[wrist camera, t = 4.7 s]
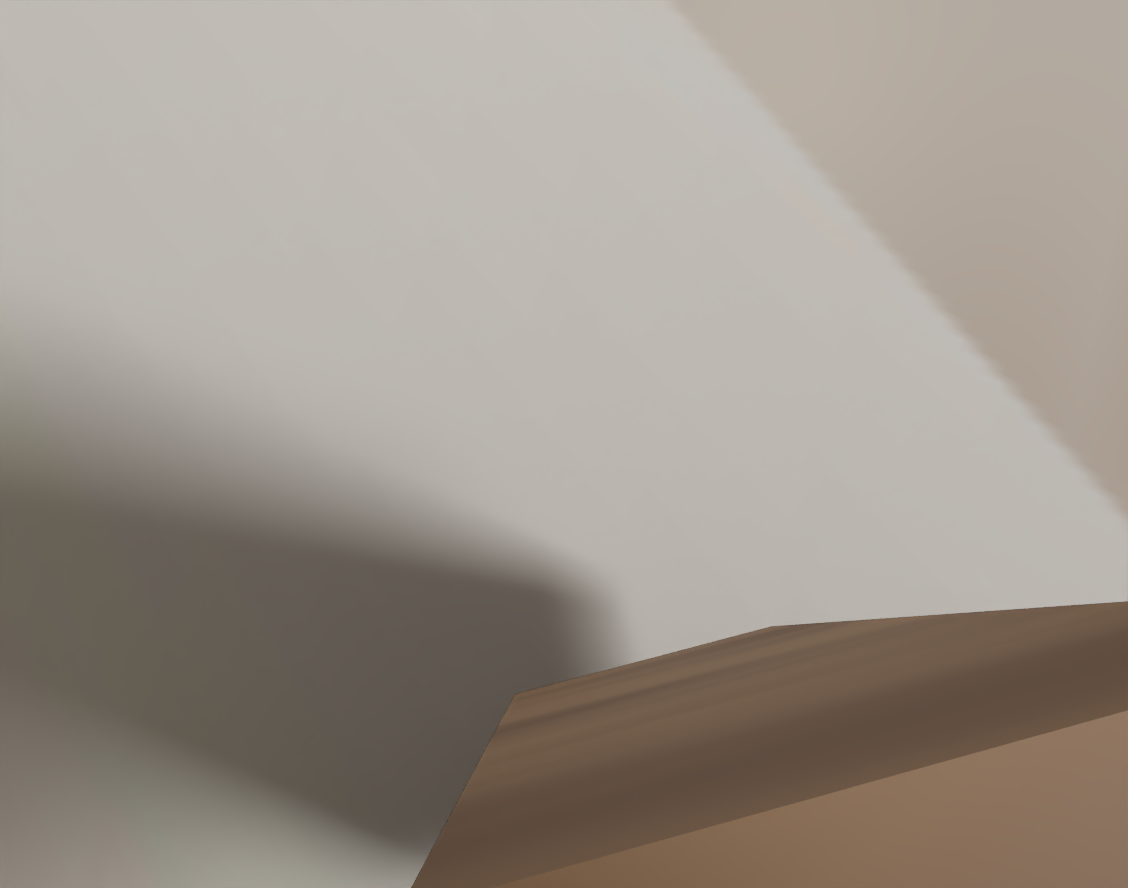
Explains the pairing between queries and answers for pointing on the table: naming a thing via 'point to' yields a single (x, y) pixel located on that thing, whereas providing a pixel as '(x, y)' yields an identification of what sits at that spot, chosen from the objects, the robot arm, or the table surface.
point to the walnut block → (817, 763)
